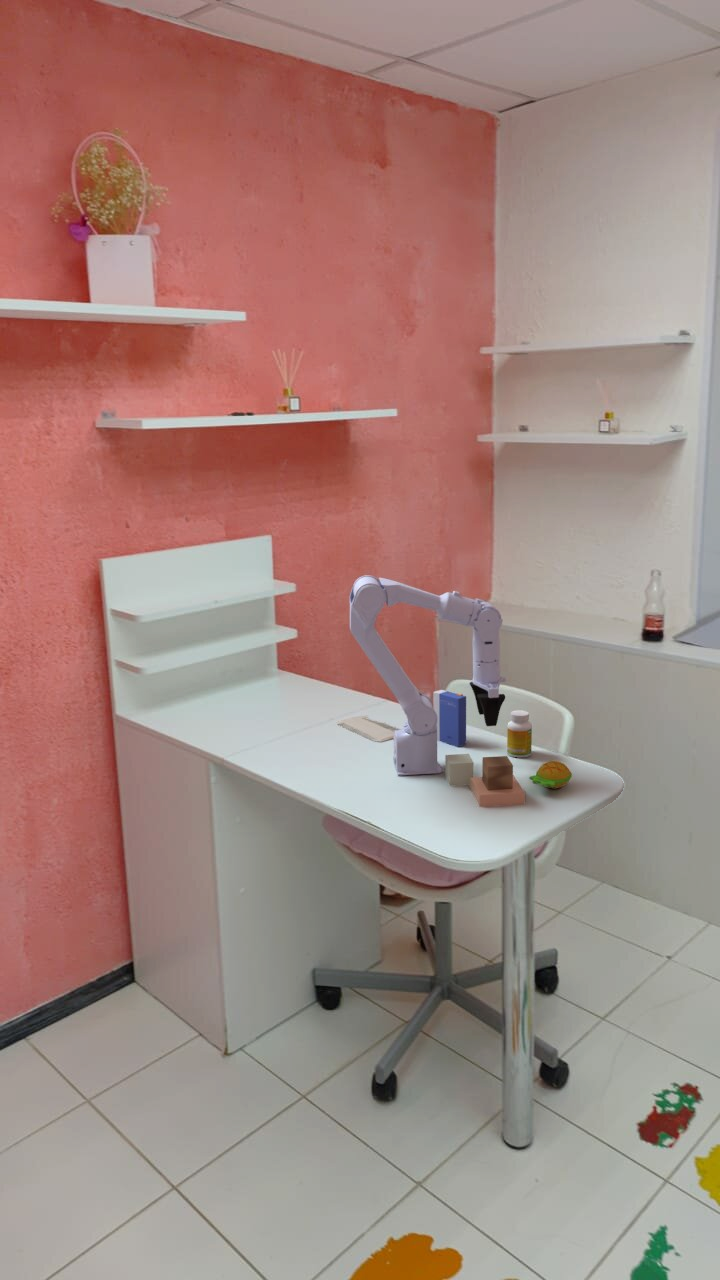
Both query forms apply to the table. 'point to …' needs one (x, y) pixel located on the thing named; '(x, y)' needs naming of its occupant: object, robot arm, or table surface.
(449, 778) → the sage cube
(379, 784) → the table surface
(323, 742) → the table surface
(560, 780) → the orange green rounded dome
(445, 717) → the walkman
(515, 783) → the tile block
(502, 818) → the table surface
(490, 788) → the walnut cube
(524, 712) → the supplement bottle
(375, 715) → the table surface
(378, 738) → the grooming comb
